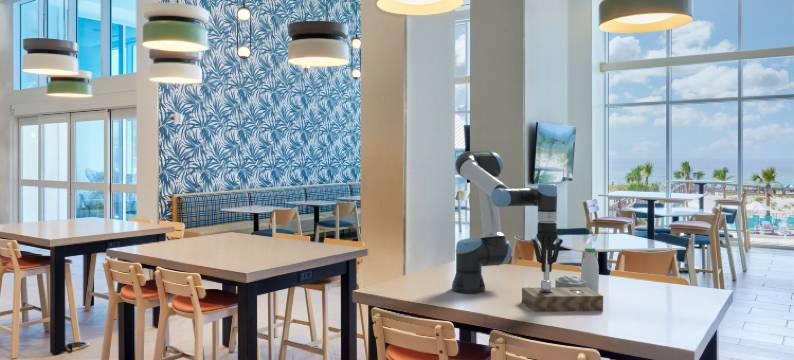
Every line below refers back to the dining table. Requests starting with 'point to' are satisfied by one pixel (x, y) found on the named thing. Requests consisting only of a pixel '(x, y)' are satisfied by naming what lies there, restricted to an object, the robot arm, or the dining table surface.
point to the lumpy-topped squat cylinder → (569, 282)
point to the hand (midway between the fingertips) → (546, 279)
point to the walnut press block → (562, 299)
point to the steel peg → (545, 286)
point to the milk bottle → (590, 269)
